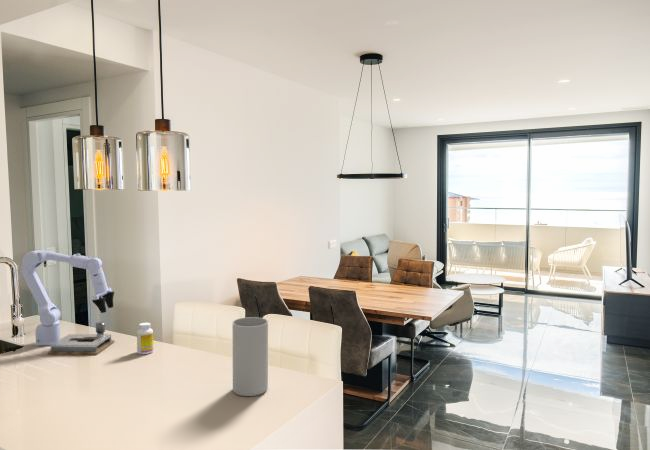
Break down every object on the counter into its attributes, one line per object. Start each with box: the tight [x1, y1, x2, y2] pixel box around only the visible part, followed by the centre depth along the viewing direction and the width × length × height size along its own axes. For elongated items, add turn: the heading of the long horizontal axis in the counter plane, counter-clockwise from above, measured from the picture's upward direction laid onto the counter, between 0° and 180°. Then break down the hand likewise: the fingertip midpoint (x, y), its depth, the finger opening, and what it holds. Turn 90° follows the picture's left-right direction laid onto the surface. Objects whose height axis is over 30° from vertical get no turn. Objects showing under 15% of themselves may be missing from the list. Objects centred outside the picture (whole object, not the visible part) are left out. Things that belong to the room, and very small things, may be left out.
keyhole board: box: [46, 339, 115, 356], centre depth 211 cm, size 22×17×1 cm
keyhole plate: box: [50, 333, 112, 352], centre depth 211 cm, size 20×15×3 cm
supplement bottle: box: [136, 322, 154, 355], centre depth 206 cm, size 7×7×13 cm
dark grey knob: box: [95, 321, 106, 334], centre depth 224 cm, size 6×6×8 cm
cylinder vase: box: [232, 316, 269, 397], centre depth 167 cm, size 12×12×25 cm
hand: (107, 310), depth 222 cm, fingers open, 7 cm apart
